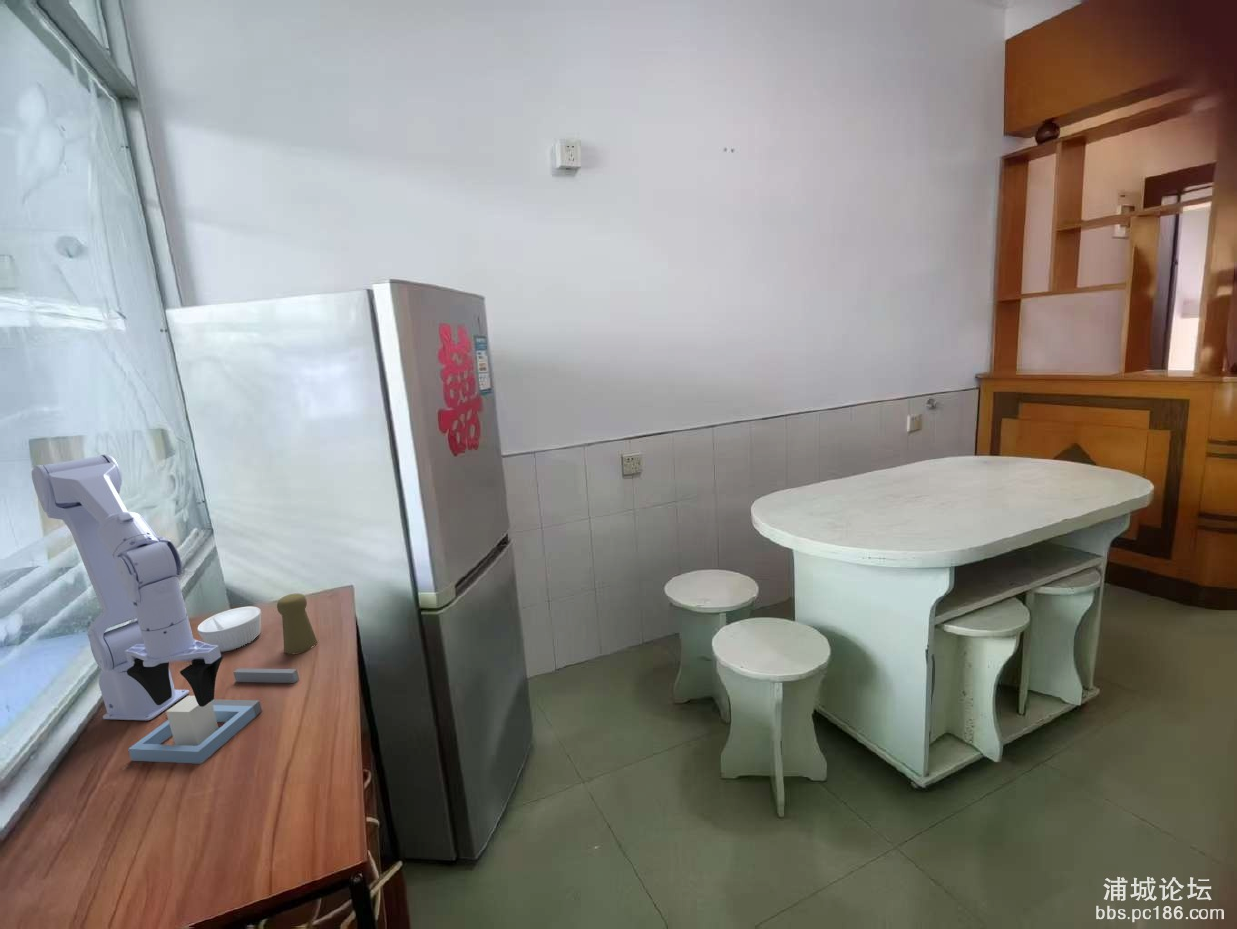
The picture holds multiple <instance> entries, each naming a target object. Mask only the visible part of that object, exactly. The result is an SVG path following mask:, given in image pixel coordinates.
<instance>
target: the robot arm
mask: <svg viewBox="0 0 1237 929" xmlns="http://www.w3.org/2000/svg"><path fill="white" fill-rule="evenodd" d="M31 480H32V483H33V487H34V490H35V493H36V495H37V497H38V499H39V502H40V505H41V507H42V510H43V512H44V513H46V516H47V518H49V519H53V520H54V519H55V520H62V521H63V522H64V524H65V525H66V527H67V528H68V529H69V531H70V533H71V535H72V538H73V540H74V542H75V544H76V548H77V550H78V553H79V556H80V557H81V561H82V563H83V566H84V568H85V571H86V573H87V575H88V578H89V581H90V583H91V586H92V587H93V590H94V593H95V596H96V599H97V600H98V603H99V605H100V608H101V610H102V611H101V612H100V614H99V615H98V616H97V618H95V620H94V621H93V622H92V623H91V625H89V626H88V631H87V633H86V634H87V637H88V640H89V647H90V651H91V654H92V657H93V659H94V661H95V663H96V665H97V666H98V668H100V669H101V671H100V673H99V675H98V676H99V677H98V686H99V689H100V692H101V696H102V700H103V703H104V707H105V710H106V714H104V715H102V719H103V720H121V721H123V720H124V721H150V720H153V719H155V717H157V716H159V715H160V714H161V713H163V712H164V711H167V710H168V709H169V708H171V706H174V705H175V703H178V702H179V701H181V700H182V698H183V699H184V698H185V696H188V694H189V693H190V690H189V689H175V685H174V681H173V679H172V678H173V677H172V673H171V670H170V666H169V665H170V663H172V662H191V664H189V665H188V666H186V667H184V668H183V669H181V670H180V671H179V674H180V675H181V676H182V677H183V678H184V679H185V680H186V682H188V684H189V686H190V687H191V689H192V692H193V696H195V698H196V701H197V703H198V704H199V706H201V707H204V706H205V705H207V704H208V703H209V702H211V701H212V700H213V699H215V691H216V681H217V680H216V679H217V675H218V671H219V668H220V666H221V663H222V660H223V658H224V656H223V653H222V652H220V650H219V646H218V645H210V644H207V643H204V641H200V640H198V639H195V638H194V635H193V631H192V628H191V624H190V620H189V616H188V612H187V608H186V604H185V601H184V600H185V599H184V597H183V593H182V588H181V585H180V581H179V577H177V576H181V574H182V572H183V563H182V559H181V556H180V553H179V552H178V549H177V547H176V545H175V544H174V543H173V541H172V540H170V539H168V538H165V537H164V536H163V535H161V536H157V534H156V533H155V532H154V530H153V529H152V528H151V526H150V525H149V524H148V522H147V521H146V520H145V519H144V517H143V516H142V515H141V514H140V513H137V512H135V511H128V509H127V507H126V506H125V504H124V502H123V501H122V498H121V497H120V491H121V487H122V484H123V478H122V472H121V469H120V466H119V465H118V462H117V461H116V459H115V458H114V457H113V456H112V455H110V454H107V453H103V454H101V455H98V456H91V457H87V458H86V457H84V458H79V459H75V460H68V461H62V462H55V463H49V464H43V465H42V464H37V465H34V468H33V469H32V470H31ZM135 619H137V620H135ZM132 620H135V621H133V622H130V621H132ZM126 622H130V623H127V624H124V623H126ZM121 624H123V625H122V626H119V627H116V628H113V627H115V626H118V625H121ZM110 628H113V629H110ZM108 629H110V630H108Z"/></svg>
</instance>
